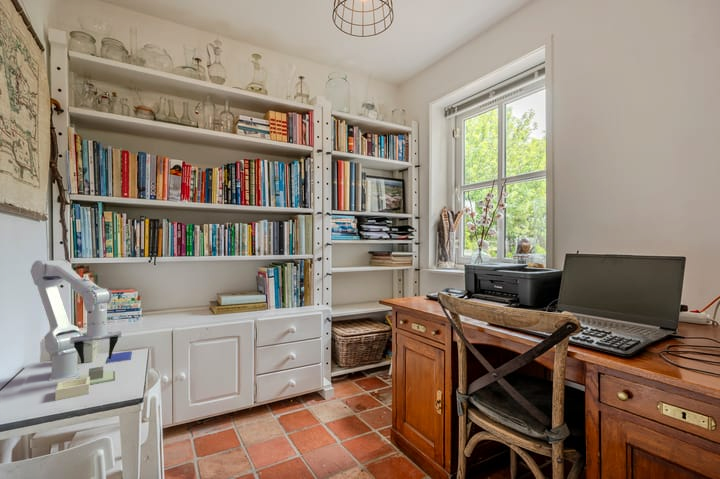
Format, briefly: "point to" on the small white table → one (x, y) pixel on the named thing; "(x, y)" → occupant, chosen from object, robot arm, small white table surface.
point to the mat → (107, 381)
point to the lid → (98, 375)
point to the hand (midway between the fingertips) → (96, 360)
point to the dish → (72, 388)
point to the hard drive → (120, 357)
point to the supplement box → (89, 349)
